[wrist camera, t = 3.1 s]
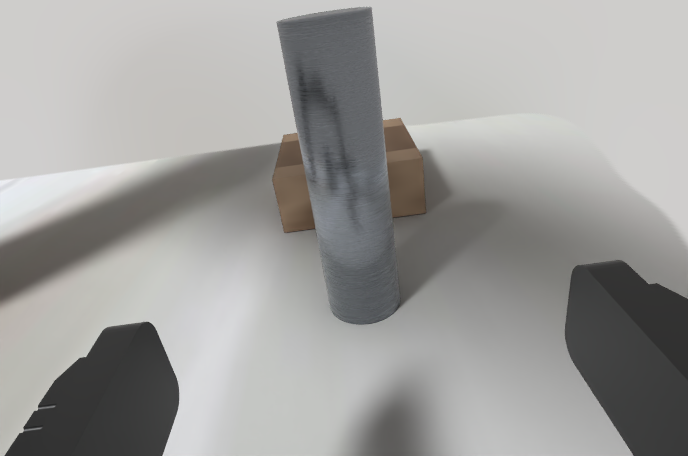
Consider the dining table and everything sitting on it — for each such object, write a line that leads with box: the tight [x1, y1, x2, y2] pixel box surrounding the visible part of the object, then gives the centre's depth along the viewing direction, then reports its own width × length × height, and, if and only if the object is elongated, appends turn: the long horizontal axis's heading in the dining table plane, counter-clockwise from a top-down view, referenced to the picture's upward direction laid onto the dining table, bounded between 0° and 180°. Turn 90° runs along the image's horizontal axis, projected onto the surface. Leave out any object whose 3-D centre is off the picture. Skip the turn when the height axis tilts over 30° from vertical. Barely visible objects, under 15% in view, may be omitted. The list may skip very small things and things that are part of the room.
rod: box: [277, 7, 400, 324], centre depth 18 cm, size 3×3×12 cm
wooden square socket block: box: [272, 118, 426, 233], centre depth 31 cm, size 9×9×4 cm
